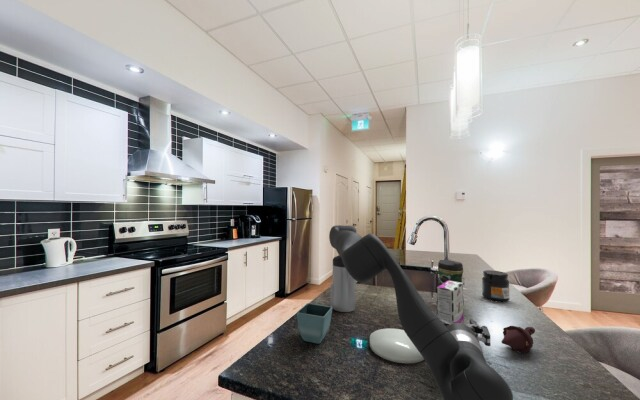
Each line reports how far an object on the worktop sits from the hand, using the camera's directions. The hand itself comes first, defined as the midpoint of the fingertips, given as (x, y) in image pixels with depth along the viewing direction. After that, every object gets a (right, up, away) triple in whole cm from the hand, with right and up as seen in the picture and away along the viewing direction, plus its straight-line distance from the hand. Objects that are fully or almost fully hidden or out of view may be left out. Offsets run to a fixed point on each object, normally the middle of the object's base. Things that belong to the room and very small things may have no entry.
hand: (453, 319), depth 74 cm
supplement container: (+43, -12, +45) cm, 63 cm away
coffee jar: (+18, -11, +38) cm, 43 cm away
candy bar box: (+3, -10, +8) cm, 13 cm away
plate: (-15, -9, +2) cm, 18 cm away
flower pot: (-40, -9, +6) cm, 41 cm away
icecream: (+19, -10, +1) cm, 21 cm away
